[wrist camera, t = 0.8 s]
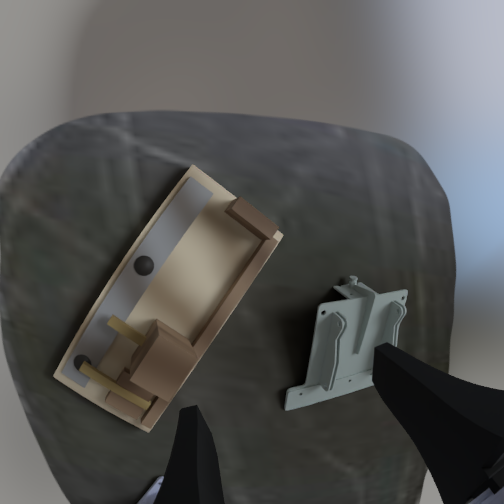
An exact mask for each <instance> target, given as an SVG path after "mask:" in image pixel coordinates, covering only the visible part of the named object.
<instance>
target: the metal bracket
mask: <svg viewBox="0 0 504 504" xmlns="http://www.w3.org/2000/svg"><path fill="white" fill-rule="evenodd" d="M356 280H357V277H356V276H350V280H349V284H347V285H341V287H340V286H333V288H334V289H335V290H337V291H338V292H339V293H340V294H342V295H343V296H344V297H346V298H347V300H341V301H334V302H328V303H322V304H320V305H319V306H318V310H317V317H316V323H315V329H314V336H313V342H312V348H311V354H310V359H309V365H308V371H307V376H306V381H305V384H303V385H301V386H297V387H292V388H289V389H288V390H287V392H286V398H285V405H284V409H285V410H291V409H295V408H299V407H303V406H307V405H311V404H313V403H317V402H320V401H324V400H327V399H331V398H334V397H337V396H341V395H344V394H347V393H350V392H354V391H357V390H360V389H363V388H366V387H369V386H372V385H374V384H373V382H372V372H373V359H374V347H376V346H379V345H381V344H383V343H386V342H388V343H390V344H392V345H393V346H395V347H397V337H398V329H399V325H400V322H401V320H402V319H403V317H404V316H405V314H406V307H405V302H406V298H407V294H408V291H407V290H400V291H394V292H388V293H383V294H378V293H376V292H375V291H373V290H372V289H370V288H369V287H367V286H366V285H364V284H363V283H357V281H356ZM402 296H404V297H403V299H402V300H401V298H402ZM324 310H325V313H324V314H323V315H321V312H322V311H324ZM349 380H350V381H349ZM300 393H301V394H300Z"/></svg>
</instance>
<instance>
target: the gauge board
mask: <svg viewBox="0 0 504 504" xmlns="http://www.w3.org/2000/svg"><path fill="white" fill-rule="evenodd" d="M278 229H279V227H278V226H277V225H276V224H274V223H273V222H272V221H271V220H269V219H268V218H267V217H266V216H264V215H263V214H262V213H261V212H259V211H258V210H257V209H256V208H254V207H253V206H252V205H250V204H249V203H248V202H247V201H245V200H244V199H243V198H242V197H238V198H236V197H235V196H233V195H232V194H231V193H230V192H228V191H227V190H226V189H224V188H223V187H222V186H221V185H219V184H218V183H217V182H215V181H214V180H213V179H211V178H210V177H209V176H208V175H206V174H205V173H204V172H202V171H201V170H200V169H198V168H197V167H196V166H194V165H193V164H192V166H191V167H190V168H189V170H188V171H187V172H186V173H185V175H184V176H183V177H182V178H181V180H180V181H179V182H178V184H177V185H176V186H175V188H174V189H173V190H172V191H171V193H170V194H169V195H168V197H167V198H166V199H165V201H164V202H163V203H162V205H161V206H160V208H159V209H158V210H157V212H156V213H155V214H154V216H153V217H152V218H151V220H150V221H149V223H148V224H147V225H146V227H145V228H144V230H143V231H142V232H141V234H140V235H139V237H138V238H137V240H136V241H135V243H134V244H133V245H132V247H131V248H130V250H129V251H128V253H127V254H126V256H125V257H124V259H123V260H122V262H121V263H120V265H119V266H118V268H117V269H116V271H115V272H114V274H113V275H112V277H111V278H110V280H109V281H108V283H107V285H106V286H105V288H104V289H103V291H102V292H101V294H100V296H99V297H98V299H97V300H96V302H95V304H94V305H93V307H92V309H91V310H90V312H89V314H88V315H87V317H86V318H85V320H84V322H83V324H82V325H81V327H80V329H79V330H78V332H77V334H76V336H75V337H74V339H73V341H72V343H71V344H70V346H69V348H68V350H67V351H66V353H65V355H64V357H63V359H62V360H61V362H60V364H59V366H58V368H57V370H56V372H55V373H54V375H53V377H55V378H56V379H57V380H59V381H60V382H62V383H63V384H65V385H66V386H68V387H69V388H71V389H72V390H74V391H76V392H77V393H79V394H80V395H82V396H83V397H85V398H87V399H88V400H90V401H92V402H93V403H95V404H97V405H98V406H100V407H102V408H103V409H105V410H107V411H109V412H110V413H112V414H114V415H116V416H118V417H119V418H121V419H123V420H125V421H127V422H129V423H131V424H133V425H135V426H136V427H138V428H140V429H142V430H144V431H146V432H148V433H149V432H150V430H151V429H152V427H153V426H154V425H155V423H156V422H157V420H158V419H159V417H160V416H161V415H162V413H163V412H164V410H165V409H166V407H167V406H168V405H169V403H170V402H171V400H172V399H173V397H174V396H175V395H176V393H177V392H178V390H179V389H180V387H181V386H182V384H183V383H184V382H185V380H186V379H187V377H188V376H189V374H190V373H191V372H192V370H193V369H194V367H195V366H196V364H197V363H198V361H199V360H200V358H201V357H202V356H203V354H204V353H205V351H206V350H207V348H208V347H209V345H210V344H211V342H212V341H213V340H214V338H215V337H216V335H217V334H218V332H219V331H220V329H221V328H222V326H223V325H224V323H225V322H226V320H227V319H228V317H229V316H230V315H231V313H232V312H233V310H234V309H235V307H236V306H237V304H238V303H239V301H240V300H241V298H242V297H243V295H244V294H245V292H246V291H247V289H248V288H249V286H250V285H251V283H252V282H253V280H254V279H255V277H256V276H257V275H258V273H259V272H260V270H261V269H262V267H263V266H264V264H265V263H266V261H267V260H268V258H269V257H270V255H271V254H272V252H273V251H274V249H275V248H276V246H277V245H278V243H279V242H280V240H281V238H282V237H283V234H282V233H280V232H279V231H278ZM112 315H115V316H116V317H118V318H119V319H121V320H122V321H124V322H125V323H126V324H128V325H129V326H131V327H133V328H134V329H136V330H137V331H139V332H140V333H142V334H143V335H146V333H147V332H148V330H149V329H150V327H151V326H152V324H153V323H154V321H155V320H156V318H157V319H158V320H160V321H161V322H163V323H164V324H166V325H167V326H169V327H170V328H172V329H174V330H175V331H177V332H178V333H180V334H181V335H183V336H185V337H186V338H188V339H189V341H190V343H191V345H192V347H193V349H194V351H195V353H196V355H197V357H198V360H197V362H196V363H195V365H194V366H193V367H192V369H191V370H190V372H189V373H188V375H187V376H186V378H185V379H184V380H183V382H182V383H181V385H180V386H179V388H178V389H177V391H176V392H175V393H174V395H173V396H172V398H171V399H170V401H169V402H167V401H165V400H164V399H162V398H160V397H158V396H156V395H154V394H152V393H151V392H149V391H147V390H145V389H144V388H142V387H140V386H138V385H137V384H135V383H133V382H131V381H130V367H131V357H132V355H133V353H134V352H135V350H136V349H137V347H138V346H139V345H138V344H136V343H135V342H133V341H132V340H130V339H129V338H127V337H125V336H124V335H122V334H121V333H119V332H118V331H116V330H115V329H113V328H112V327H111V326H109V325H108V324H107V323H108V321H109V319H110V318H111V316H112Z"/></svg>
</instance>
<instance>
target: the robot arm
mask: <svg viewBox="0 0 504 504" xmlns="http://www.w3.org/2000/svg"><path fill="white" fill-rule="evenodd" d="M372 382H373V384H374V386H375V388H376V389H377V391H378V393H379V395H380V396H381V398H382V400H383V401H384V403H385V404H386V405H387V407H388V408H389V409H390V411H391V412H392V413H393V415H394V416H395V417H396V419H397V420H398V421H399V423H400V424H401V425H402V426H403V428H404V429H405V430H406V432H407V433H408V434H409V436H410V437H411V439H412V440H413V442H414V443H415V445H416V447H417V449H418V450H419V452H420V454H421V456H422V457H423V459H424V461H425V463H426V465H427V467H428V469H429V471H430V473H431V475H432V477H433V479H434V482H435V484H436V486H437V488H438V491H439V493H440V496H441V498H442V501H443V503H444V504H504V390H498V389H493V388H489V387H484V386H480V385H476V384H473V383H470V382H467V381H464V380H461V379H459V378H456V377H454V376H451V375H449V374H447V373H444V372H442V371H440V370H438V369H436V368H434V367H432V366H430V365H428V364H426V363H424V362H422V361H420V360H418V359H416V358H415V357H413V356H411V355H409V354H407V353H406V352H404V351H402V350H400V349H399V348H397V347H395V346H393V345H392V344H390V343H388V342H386V343H383V344H381V345H379V346H376V347H374V359H373V372H372ZM159 483H161V484H159ZM137 504H225V503H224V497H223V491H222V484H221V477H220V470H219V463H218V456H217V452H216V448H215V445H214V441H213V437H212V433H211V432H210V430H209V428H208V426H207V424H206V422H205V420H204V418H203V416H202V414H201V412H200V410H199V408H198V406H197V405H195V406H191V407H186V408H182V409H181V410H180V413H179V420H178V426H177V431H176V436H175V440H174V444H173V448H172V452H171V456H170V459H169V463H168V466H167V469H166V472H165V475H164V477H163V476H160V477H158V478H157V480H156V481H155V482H154V483H153V485H152V486H151V487H150V488H149V490H148V491H147V492H146V493H145V495H144V496H143V497H142V498H141V499H140V501H139V502H138V503H137Z"/></svg>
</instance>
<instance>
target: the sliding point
mask: <svg viewBox="0 0 504 504" xmlns="http://www.w3.org/2000/svg"><path fill="white" fill-rule="evenodd" d="M107 324H108V325H109V326H111V327H112V328H113V329H115V330H116V331H118V332H119V333H121V334H122V335H124V336H125V337H127V338H129V339H130V340H132V341H133V342H135V343H136V344H138V345H139V346H138V347H137V349H136V350H135V352H134V353H133V355H132V357H131V367H130V381H131V382H133V383H135V384H137V385H138V386H140V387H142V388H144V389H145V390H147V391H149V392H151V393H152V394H154V395H156V396H158V397H160V398H162V399H164V400H165V401H167V402H169V401H170V399H171V398H172V396H173V395H174V393H175V392H176V391H177V389H178V388H179V386H180V385H181V383H182V382H183V380H184V379H185V378H186V376H187V375H188V373H189V372H190V370H191V369H192V367H193V366H194V365H195V363H196V362H197V360H198V357H197V355H196V353H195V351H194V349H193V347H192V345H191V343H190V341H189V339H188V338H186V337H185V336H183V335H181V334H180V333H178V332H177V331H175V330H174V329H172V328H170V327H169V326H167V325H166V324H164V323H163V322H161V321H160V320H158V319H157V318H156V320H155V321H154V323H153V324H152V326H151V327H150V329H149V330H148V332H147V333H146V335H143V334H142V333H140V332H139V331H137V330H136V329H134V328H133V327H131V326H129V325H128V324H126V323H125V322H124V321H122V320H121V319H119V318H118V317H116V316H115V315H112V316H111V318H110V319H109V321H108V323H107Z"/></svg>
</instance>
